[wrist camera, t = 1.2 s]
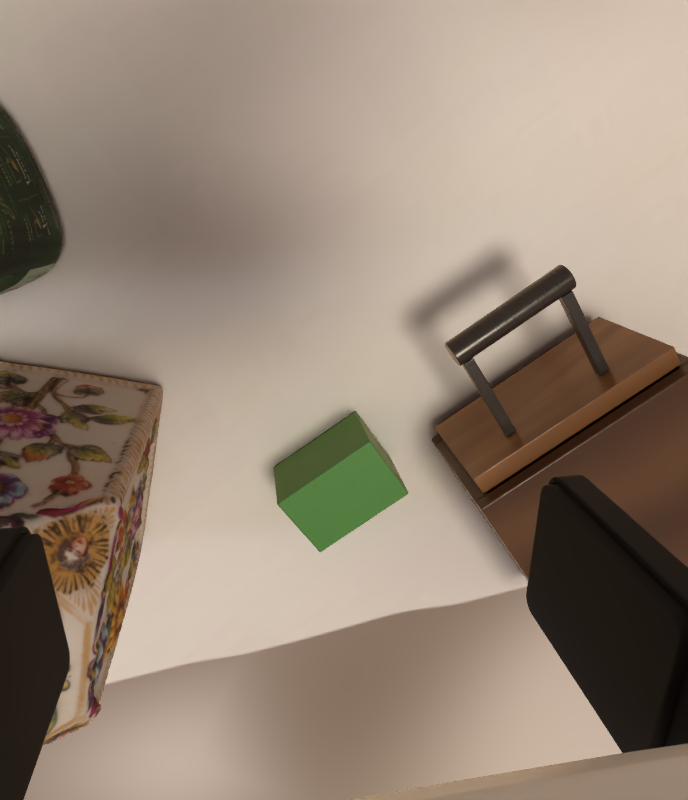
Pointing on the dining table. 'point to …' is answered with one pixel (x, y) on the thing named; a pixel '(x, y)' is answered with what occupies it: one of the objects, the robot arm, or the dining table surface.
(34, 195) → the coffee jar
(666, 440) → the cabinet
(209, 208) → the dining table surface
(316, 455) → the green block
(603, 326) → the drawer
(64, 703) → the decorative jar
